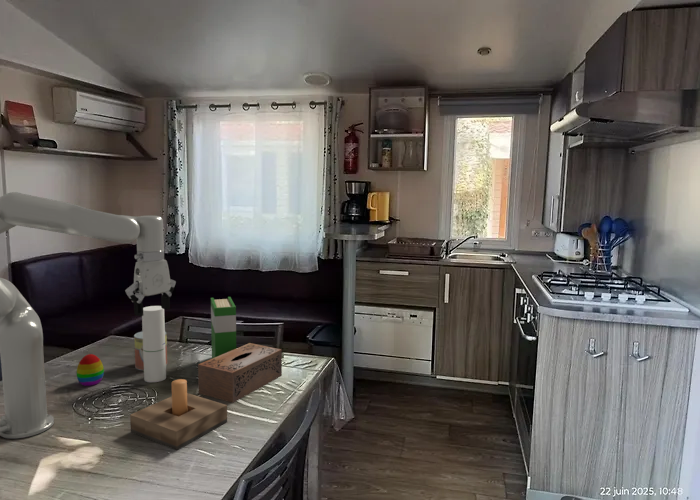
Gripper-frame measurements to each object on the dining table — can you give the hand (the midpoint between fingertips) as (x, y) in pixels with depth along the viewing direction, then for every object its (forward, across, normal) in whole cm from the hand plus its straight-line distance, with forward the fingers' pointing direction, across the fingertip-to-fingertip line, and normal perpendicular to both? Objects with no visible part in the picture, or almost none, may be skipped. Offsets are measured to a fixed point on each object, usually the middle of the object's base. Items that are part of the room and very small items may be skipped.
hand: (152, 312), depth 150 cm
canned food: (+29, +20, +27) cm, 44 cm away
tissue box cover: (+29, +24, -14) cm, 40 cm away
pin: (+27, -8, -20) cm, 35 cm away
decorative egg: (+28, -2, +30) cm, 41 cm away
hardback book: (+28, +35, +5) cm, 45 cm away
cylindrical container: (+28, +12, +15) cm, 34 cm away
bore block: (+28, -8, -20) cm, 36 cm away
